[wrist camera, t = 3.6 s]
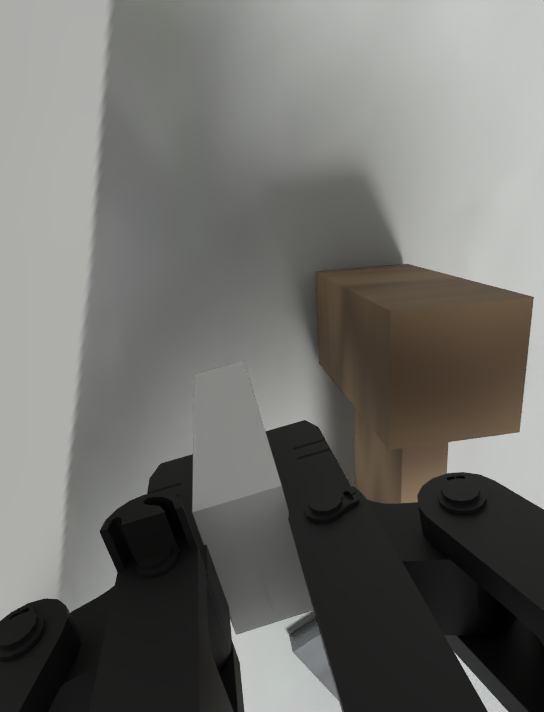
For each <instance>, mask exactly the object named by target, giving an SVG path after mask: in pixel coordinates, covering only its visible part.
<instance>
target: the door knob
mask: <svg viewBox="0 0 544 712" xmlns="http://www.w3.org/2000/svg"><path fill="white" fill-rule="evenodd" d="M290 641H291V645H292V650H293V653H294V654H295V655H296V656H297V657H298V658H299V659H300V660H301V661H302V662H303V663H304V664H305V665H306V666H307V667H308V669H309V670H310V671H311V672H312V673H313V674H314V675H315V676H316V677H317V678H318V679H319V680H320V681H321V682H322V683H323V684H324V686H325V687H326V688H327V689H328V690H329V691H330V692H331V693H332V694H333V695H334V696H335V697H336V698H337V699H338V700H339V698H338V695H337V691H336V688H335V684H334V681H333V677H332V674H331V670H330V667H329V664H328V661H327V657H326V653H325V650H324V646H323V642H322V639H321V635H320V632H319V628H318V624H317V621H316V619H314V620H313V621H311V622H310V623H308V624H306V625H305V626H303V627H302V628H300V629H299V630H297V631H296V632H294V633H293V634H291V635H290Z"/></svg>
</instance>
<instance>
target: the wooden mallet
mask: <svg viewBox="0 0 544 712" xmlns="http://www.w3.org/2000/svg"><path fill="white" fill-rule="evenodd" d="M316 291H317V319H318V347H319V364H320V365H321V366H322V367H323V369H324V370H325V371H326V372H327V374H328V375H329V376H330V377H331V379H332V380H333V381H334V382H335V384H336V385H337V386H338V387H339V389H340V390H341V391H342V392H343V394H344V395H345V396H346V397H347V399H348V400H349V401H350V402H351V404H352V405H353V406H354V418H355V488H356V489H358V490H359V491H360V492H361V493H362V494H363V495H364V496H365V497H366V499H368V500H370V501H373V502H379V503H386V504H398V503H413V502H418V499H417V495H418V493H419V491H420V489H421V487H422V486H423V485H424V484H425V483H427V482H428V481H429V480H431V479H432V478H435V477H438V476H441V475H444V474H446V473H447V455H448V442H451V441H459V440H466V439H473V438H480V437H488V436H495V435H502V434H509V433H517V432H519V431H520V422H521V412H522V403H523V393H524V384H525V374H526V365H527V355H528V346H529V336H530V327H531V317H532V307H533V298H534V297H531V296H528V295H524V294H520V293H516V292H512V291H508V290H505V289H501V288H497V287H493V286H489V285H486V284H482V283H478V282H474V281H470V280H466V279H463V278H459V277H455V276H451V275H447V274H444V273H440V272H436V271H432V270H428V269H424V268H421V267H417V266H413V265H409V264H402V265H391V266H379V267H368V268H356V269H344V270H333V271H321V272H316Z"/></svg>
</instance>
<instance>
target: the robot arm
mask: <svg viewBox="0 0 544 712" xmlns="http://www.w3.org/2000/svg"><path fill="white" fill-rule="evenodd" d="M147 493H148V494H146V495H143V496H141V497H138V498H136V499H133V500H131V501H129V502H128V503H126V504H124V505H123V506H121V507H120V508H118V509H117V510H116V511H115V512H114V513H113V514H111V515H110V516H109V517H108V518H107V519H106V521H105V522H104V524H103V526H102V528H101V530H100V534H101V536H102V538H103V540H104V543H105V545H106V547H107V549H108V552H109V554H110V556H111V558H112V561H113V563H114V565H115V567H116V570H117V572H118V573H117V578H116V583H115V586H113V587H112V588H111V589H110V590H108V591H107V592H105V593H104V594H102V595H101V596H99V597H98V598H96V599H94V600H92V601H90V602H89V603H87V604H85V605H83V606H81V607H80V608H78V609H76V610H74V611H72V612H71V613H69V611H68V609H67V607H66V605H64V604H63V603H62V602H61V601H59V600H58V599H42V600H38V601H35V602H31V603H28V604H26V605H25V606H22V607H21V608H18V609H17V610H15V611H13V612H11V613H10V614H9V615H7V616H6V617H5V618H4V619H2V620H1V621H0V712H244V704H243V694H242V683H241V673H240V663H239V660H238V657H237V654H236V651H235V648H234V645H233V642H232V638H231V626H230V619H231V622H232V625H233V628H234V631H235V633H236V634H240V633H243V632H246V631H249V630H252V629H255V628H258V627H262V626H265V625H268V624H271V623H274V622H277V621H280V620H284V619H287V618H290V617H293V616H296V615H299V614H302V613H306V612H309V611H312V610H314V613H315V617H316V621H317V624H318V628H319V632H320V635H321V639H322V642H323V646H324V650H325V653H326V657H327V661H328V664H329V667H330V670H331V674H332V677H333V681H334V684H335V688H336V691H337V695H338V698H339V702H340V706H341V709H342V712H488V711H487V710H486V708H485V706H484V704H483V703H482V701H481V699H480V697H479V696H478V694H477V692H476V690H475V689H474V687H473V685H472V683H471V682H470V680H469V678H468V676H467V675H466V673H465V671H464V669H463V668H462V666H461V664H460V662H459V661H458V659H457V657H456V655H455V654H454V652H455V653H456V654H457V655H458V656H459V658H460V659H461V660H462V661H463V662H464V663H465V664H466V665H467V666H468V667H469V669H470V670H471V671H472V672H473V673H474V674H475V675H476V676H477V677H478V679H479V680H480V681H481V682H482V683H483V684H484V685H485V686H486V687H487V688H488V690H489V691H490V692H491V693H492V694H493V695H494V696H495V697H496V698H497V699H498V701H499V702H500V703H501V704H502V705H503V706H504V707H505V708H506V709H507V710H508V712H544V510H543V509H542V508H540V507H538V506H537V505H535V504H533V503H531V502H530V501H528V500H526V499H525V498H523V497H521V496H520V495H518V494H516V493H514V492H513V491H511V490H509V489H508V488H506V487H504V486H503V485H501V484H499V483H497V482H496V481H494V480H491V479H489V478H487V477H484V476H482V475H478V474H472V473H465V472H460V473H447V474H444V475H441V476H438V477H435V478H432V479H431V480H429V481H428V482H427V483H425V484H424V485H423V486H422V487H421V489H420V491H419V493H418V495H417V499H418V502H413V503H398V504H386V503H379V502H373V501H370V500H368V499H366V497H365V496H364V495H363V494H362V493H361V492H360V491H359V490H358V489H356V488H354V487H351V486H350V484H349V482H348V480H347V479H346V477H345V475H344V473H343V471H342V469H341V468H340V466H339V464H338V462H337V460H336V458H335V457H334V455H333V453H332V451H331V450H330V447H329V446H328V444H327V442H326V441H325V438H324V436H323V435H322V433H321V431H320V429H319V427H317V426H315V425H313V424H311V423H309V422H307V421H306V420H304V421H300V422H297V423H293V424H290V425H287V426H283V427H280V428H276V429H273V430H269V431H266V432H265V429H264V426H263V422H262V419H261V416H260V412H259V409H258V406H257V403H256V399H255V396H254V393H253V389H252V386H251V383H250V379H249V376H248V373H247V369H246V366H245V363H244V361H240V362H237V363H233V364H229V365H226V366H222V367H219V368H215V369H211V370H208V371H204V372H201V373H197V374H194V420H193V454H192V455H189V456H185V457H182V458H178V459H175V460H172V461H168V462H165V463H161V464H160V465H159V466H158V468H157V469H156V471H155V472H154V473H153V475H152V476H151V477H150V480H149V486H148V492H147ZM453 651H454V652H453Z"/></svg>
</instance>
